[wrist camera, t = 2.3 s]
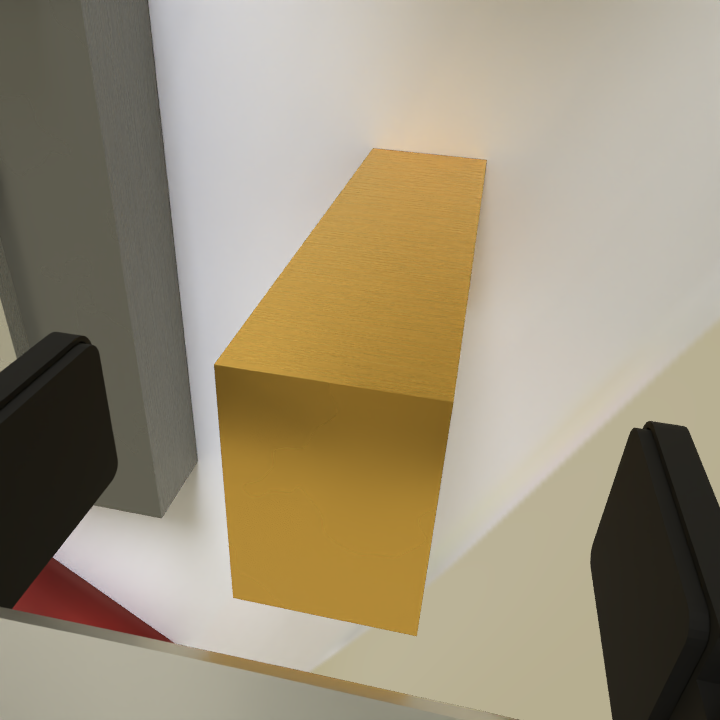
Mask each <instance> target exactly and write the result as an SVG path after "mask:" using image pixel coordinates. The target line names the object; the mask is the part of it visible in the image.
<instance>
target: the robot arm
mask: <svg viewBox="0 0 720 720" xmlns="http://www.w3.org/2000/svg"><path fill="white" fill-rule="evenodd" d="M117 468H118V458H117V452H116V446H115V440H114V435H113V429H112V423H111V417H110V411H109V406H108V400H107V394H106V388H105V383H104V377H103V371H102V365H101V359H100V354H99V350H98V349H97V347H96V346H94V345H92V344H91V341H90V340H89V339H88V338H87V337H86V336H82V335H76V334H69V333H62V332H52V333H50V334H48V335H47V336H46V337H44V338H43V339H42V340H41V341H39V342H38V343H37V344H35V345H34V346H33V347H32V348H30V349H29V350H28V351H26V352H25V353H24V354H23V355H21V356H20V357H19V358H18V359H16V360H15V361H14V362H12V363H11V364H10V365H9V366H7V367H6V368H5V369H3V370H2V371H1V372H0V720H518V719H514V718H510V717H505V716H501V715H497V714H493V713H489V712H484V711H480V710H476V709H471V708H467V707H462V706H458V705H453V704H449V703H444V702H440V701H435V700H431V699H426V698H422V697H417V696H413V695H408V694H404V693H399V692H395V691H390V690H385V689H381V688H376V687H372V686H367V685H362V684H358V683H354V682H349V681H345V680H340V679H335V678H331V677H326V676H322V675H317V674H313V673H309V672H304V671H299V670H295V669H290V668H285V667H281V666H276V665H272V664H267V663H262V662H258V661H253V660H248V659H244V658H239V657H234V656H230V655H225V654H221V653H216V652H211V651H207V650H202V649H197V648H193V647H188V646H183V645H179V644H174V643H169V642H165V641H160V640H155V639H151V638H146V637H141V636H137V635H132V634H127V633H123V632H118V631H113V630H108V629H104V628H99V627H94V626H89V625H84V624H80V623H75V622H70V621H65V620H61V619H56V618H51V617H46V616H41V615H37V614H32V613H27V612H22V611H17V610H13V609H12V608H13V607H14V606H15V604H16V603H17V602H18V601H19V599H20V598H21V597H22V595H23V594H24V593H25V592H26V590H27V589H28V588H29V586H30V585H31V584H32V583H33V581H34V580H35V579H36V578H37V576H38V575H39V574H40V572H41V571H42V570H43V569H44V567H45V566H46V565H47V564H48V562H49V561H50V560H51V558H52V557H53V556H54V555H55V553H56V552H57V551H58V549H59V548H60V547H61V546H62V544H63V543H64V542H65V541H66V539H67V538H68V537H69V535H70V534H71V533H72V532H73V530H74V529H75V528H76V526H77V525H78V524H79V523H80V521H81V520H82V519H83V518H84V516H85V515H86V514H87V512H88V511H89V510H90V509H91V507H92V506H93V505H94V503H95V502H96V501H97V500H98V498H99V497H100V496H101V495H102V493H103V492H104V491H105V489H106V488H107V487H108V486H109V484H110V483H111V482H112V480H113V479H114V477H115V475H116V472H117ZM590 564H591V572H592V580H593V587H594V593H595V601H596V608H597V614H598V621H599V628H600V635H601V642H602V649H603V656H604V663H605V670H606V677H607V684H608V691H609V697H610V705H611V712H612V719H613V720H720V507H719V504H718V502H717V499H716V497H715V495H714V492H713V490H712V487H711V485H710V482H709V480H708V477H707V475H706V472H705V470H704V467H703V465H702V462H701V460H700V457H699V455H698V453H697V450H696V448H695V445H694V442H693V440H692V438H691V435H690V433H689V431H688V429H687V427H684V426H679V425H672V424H665V423H659V422H653V421H648V422H646V424H645V425H644V427H643V429H639V428H633V429H632V431H631V432H630V435H629V437H628V441H627V443H626V446H625V449H624V452H623V455H622V458H621V461H620V464H619V467H618V471H617V473H616V476H615V479H614V482H613V485H612V488H611V491H610V494H609V497H608V500H607V503H606V506H605V509H604V512H603V515H602V518H601V521H600V524H599V527H598V530H597V533H596V536H595V539H594V542H593V545H592V550H591V561H590Z"/></svg>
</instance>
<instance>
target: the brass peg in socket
mask: <svg viewBox="0 0 720 720" xmlns="http://www.w3.org/2000/svg"><path fill="white" fill-rule="evenodd" d="M486 162H487V160H481V159H471V158H462V157H452V156H443V155H433V154H423V153H414V152H404V151H395V150H385V149H375V148H373V149H372V150H371V152H370V153H369V155H368V156H367V157H366V159H365V160H364V161H363V163H362V164H361V165H360V167H359V168H358V169H357V171H356V172H355V174H354V175H353V176H352V178H351V179H350V180H349V182H348V183H347V184H346V186H345V187H344V189H343V190H342V191H341V193H340V194H339V195H338V197H337V198H336V199H335V201H334V202H333V204H332V205H331V206H330V208H329V209H328V210H327V212H326V213H325V214H324V216H323V217H322V218H321V220H320V221H319V223H318V224H317V225H316V227H315V228H314V229H313V231H312V232H311V233H310V235H309V236H308V238H307V239H306V240H305V242H304V243H303V244H302V246H301V247H300V248H299V250H298V251H297V252H296V254H295V255H294V257H293V258H292V259H291V261H290V262H289V263H288V265H287V266H286V267H285V269H284V270H283V272H282V273H281V274H280V276H279V277H278V278H277V280H276V281H275V282H274V284H273V285H272V286H271V288H270V289H269V291H268V292H267V293H266V295H265V296H264V297H263V299H262V300H261V301H260V303H259V304H258V306H257V307H256V308H255V310H254V311H253V312H252V314H251V315H250V316H249V318H248V319H247V320H246V322H245V323H244V325H243V326H242V327H241V329H240V330H239V331H238V333H237V334H236V335H235V337H234V338H233V340H232V341H231V342H230V344H229V345H228V346H227V348H226V349H225V350H224V352H223V353H222V355H221V356H220V357H219V359H218V360H217V361H216V363H215V364H214V370H215V382H216V394H217V407H218V419H219V431H220V443H221V455H222V468H223V480H224V492H225V504H226V516H227V528H228V541H229V553H230V565H231V577H232V589H233V598H237V599H241V600H246V601H251V602H256V603H260V604H265V605H270V606H275V607H280V608H284V609H289V610H294V611H299V612H304V613H308V614H313V615H318V616H323V617H327V618H332V619H337V620H342V621H347V622H351V623H356V624H361V625H366V626H370V627H375V628H380V629H385V630H390V631H394V632H399V633H404V634H409V635H413V636H417V631H418V624H419V618H420V611H421V605H422V599H423V593H424V586H425V580H426V573H427V567H428V561H429V554H430V548H431V542H432V535H433V529H434V522H435V516H436V510H437V503H438V497H439V491H440V484H441V478H442V471H443V465H444V459H445V452H446V446H447V439H448V433H449V427H450V420H451V414H452V408H453V401H454V394H455V387H456V379H457V372H458V365H459V358H460V350H461V343H462V336H463V329H464V322H465V314H466V307H467V300H468V293H469V285H470V278H471V271H472V264H473V256H474V249H475V242H476V235H477V227H478V220H479V213H480V206H481V199H482V191H483V184H484V177H485V170H486Z"/></svg>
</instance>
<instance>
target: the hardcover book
mask: <svg viewBox="0 0 720 720" xmlns="http://www.w3.org/2000/svg"><path fill="white" fill-rule="evenodd" d="M12 609H13V610H17V611H22V612H27V613H32V614H37V615H41V616H46V617H51V618H56V619H61V620H65V621H70V622H75V623H80V624H84V625H89V626H94V627H99V628H104V629H108V630H113V631H118V632H123V633H127V634H132V635H137V636H141V637H146V638H151V639H155V640H160V641H165V642H169V643H173V642H172V641H170V640H169V639H168V638H166V637H165V636H163V635H162V634H161V633H159V632H158V631H156V630H155V629H153V628H152V627H151V626H149V625H148V624H146V623H145V622H143V621H142V620H141V619H139V618H138V617H136V616H135V615H134V614H132V613H131V612H129V611H128V610H126V609H125V608H124V607H122V606H121V605H119V604H118V603H116V602H115V601H114V600H112V599H111V598H109V597H108V596H106V595H105V594H104V593H102V592H101V591H99V590H98V589H97V588H95V587H94V586H92V585H91V584H89V583H88V582H87V581H85V580H84V579H82V578H81V577H79V576H78V575H77V574H75V573H74V572H72V571H71V570H70V569H68V568H67V567H65V566H64V565H62V564H61V563H60V562H58V561H57V560H55V559H54V558H51V560H50V561H49V562H48V564H47V565H46V566H45V567H44V569H43V570H42V571H41V572H40V574H39V575H38V576H37V578H36V579H35V580H34V581H33V583H32V584H31V585H30V586H29V588H28V589H27V590H26V592H25V593H24V594H23V595H22V597H21V598H20V599H19V601H18V602H17V603H16V604H15V606H14V607H13V608H12ZM174 644H175V643H174Z"/></svg>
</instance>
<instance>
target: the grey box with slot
mask: <svg viewBox="0 0 720 720" xmlns="http://www.w3.org/2000/svg"><path fill="white" fill-rule="evenodd" d="M52 332H62V333H69V334H76V335H82V336H86V337H87V338H88V339H89V340H90V341H91V344H92V345H94V346H96V347H97V349H98V350H99V354H100V359H101V365H102V371H103V377H104V383H105V388H106V394H107V400H108V406H109V411H110V417H111V423H112V429H113V435H114V440H115V446H116V452H117V458H118V468H117V472H116V475H115V477H114V479H113V480H112V482H111V483H110V484H109V486H108V487H107V488H106V489H105V491H104V492H103V493H102V495H101V496H100V497H99V498H98V500H97V501H96V502H95V503H94V505H96V506H101V507H106V508H111V509H116V510H121V511H126V512H132V513H137V514H142V515H147V516H152V517H157V518H162V517H163V516H164V514H165V512H166V511H167V509H168V508H169V506H170V504H171V503H172V501H173V500H174V498H175V496H176V495H177V493H178V492H179V490H180V488H181V487H182V485H183V484H184V482H185V480H186V479H187V477H188V476H189V474H190V472H191V471H192V469H193V468H194V466H195V465H196V463H197V453H196V443H195V434H194V425H193V416H192V406H191V397H190V388H189V379H188V370H187V360H186V351H185V342H184V333H183V324H182V314H181V305H180V296H179V287H178V278H177V268H176V259H175V250H174V241H173V231H172V222H171V213H170V204H169V195H168V185H167V176H166V167H165V158H164V149H163V139H162V130H161V121H160V112H159V103H158V93H157V84H156V75H155V66H154V56H153V47H152V38H151V29H150V20H149V10H148V1H147V0H0V372H1V371H2V370H3V369H5V368H6V367H7V366H9V365H10V364H11V363H12V362H14V361H15V360H16V359H18V358H19V357H20V356H21V355H23V354H24V353H25V352H26V351H28V350H29V349H30V348H32V347H33V346H34V345H35V344H37V343H38V342H39V341H41V340H42V339H43V338H44V337H46V336H47V335H48V334H50V333H52Z"/></svg>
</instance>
